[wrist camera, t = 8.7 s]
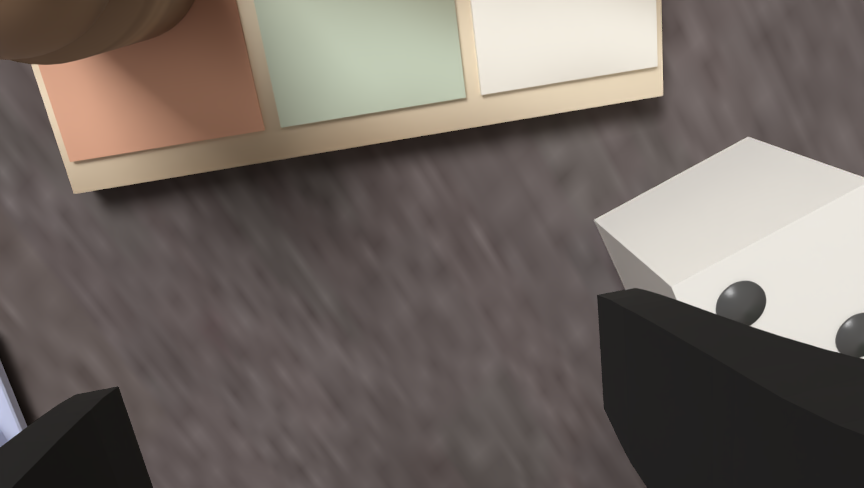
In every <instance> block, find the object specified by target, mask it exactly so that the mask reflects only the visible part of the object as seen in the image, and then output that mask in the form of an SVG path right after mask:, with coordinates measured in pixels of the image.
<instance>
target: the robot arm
mask: <svg viewBox="0 0 864 488" xmlns="http://www.w3.org/2000/svg"><path fill="white" fill-rule="evenodd" d="M597 298H598V315H599V332H600V349H601V366H602V383H603V400H604V409H605V412H606V414H607V416H608V418H609V420H610V422H611V424H612V426H613V428H614V431H615V433H616V435H617V437H618V439H619V441H620V443H621V445H622V447H623V449H624V451H625V453H626V455H627V457H628V458H629V460H630V462H631V464H632V465H633V467H634V468H635V470H636V471H637V473H638V474H639V476H640V477H641V479H642V480H643V482H644V483H645V485H646V486H647V488H864V359H862V358H858V357H853V356H849V355H845V354H842V353H838V352H834V351H830V350H826V349H823V348H819V347H816V346H812V345H809V344H806V343H802V342H799V341H796V340H792V339H789V338H786V337H782V336H779V335H776V334H773V333H770V332H767V331H763V330H760V329H757V328H754V327H751V326H748V325H746V324H743V323H740V322H737V321H734V320H731V319H728V318H725V317H723V316H720V315H717V314H714V313H711V312H709V311H706V310H703V309H700V308H698V307H695V306H692V305H689V304H687V303H684V302H681V301H678V300H675V299H672V298H669V297H667V296H664V295H661V294H657V293H654V292H651V291H647V290H643V289H639V288H632V289H627V290H622V291H616V292H611V293H606V294H601V295H597ZM0 488H153V486H152V483H151V480H150V477H149V475H148V472H147V469H146V466H145V463H144V460H143V457H142V454H141V451H140V448H139V445H138V442H137V440H136V437H135V434H134V431H133V428H132V425H131V422H130V419H129V416H128V413H127V410H126V407H125V405H124V402H123V399H122V396H121V393H120V390H119V387H113V388H108V389H103V390H98V391H92V392H87V393H82V394H77V395H74V396H72V397H71V398H69V399H67V400H65V401H64V402H62V403H60V404H59V405H57V406H56V407H54V408H53V409H51V410H50V411H48V412H47V413H46V414H44V415H43V416H41V417H40V418H39V419H37V420H36V421H35V422H33V423H32V424H30V425H29V426H28V427H27V425H26V422H25V420H24V417H23V415H22V412H21V410H20V407H19V405H18V402H17V400H16V397H15V395H14V392H13V390H12V388H11V385H10V383H9V380H8V378H7V375H6V373H5V370H4V368H3V365H2V363H1V360H0Z"/></svg>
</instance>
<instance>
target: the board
mask: <svg viewBox="0 0 864 488" xmlns="http://www.w3.org/2000/svg"><path fill="white" fill-rule="evenodd" d="M31 65H32V68H33V71H34V74H35V77H36V80H37V83H38V87H39V90H40V93H41V96H42V99H43V102H44V105H45V108H46V111H47V114H48V117H49V120H50V123H51V126H52V129H53V132H54V135H55V138H56V141H57V144H58V147H59V150H60V153H61V156H62V159H63V162H64V165H65V168H66V171H67V174H68V177H69V180H70V183H71V186H72V189H73V192H74V194H77V193H83V192H89V191H95V190H101V189H107V188H113V187H119V186H125V185H131V184H137V183H143V182H149V181H155V180H161V179H167V178H173V177H179V176H185V175H191V174H197V173H203V172H209V171H215V170H221V169H227V168H233V167H239V166H245V165H251V164H257V163H263V162H269V161H275V160H281V159H287V158H293V157H299V156H305V155H311V154H317V153H323V152H329V151H335V150H341V149H347V148H353V147H359V146H365V145H371V144H377V143H383V142H389V141H395V140H401V139H407V138H413V137H419V136H425V135H431V134H437V133H443V132H449V131H455V130H461V129H467V128H473V127H479V126H485V125H491V124H497V123H503V122H509V121H515V120H521V119H527V118H533V117H539V116H545V115H550V114H556V113H562V112H568V111H574V110H580V109H586V108H592V107H598V106H604V105H610V104H616V103H622V102H628V101H634V100H640V99H646V98H652V97H658V96H663V62H662V12H661V0H195V1H194V3H193V5H192V7H191V8H190V10H189V11H188V13H187V14H186V15H185V17H184V18H183V19H182V20H181V21H180V22H179V23H178V24H177V25H176V26H174V27H173V28H172V29H170V30H169V31H167V32H165V33H163V34H162V35H160V36H157V37H154V38H152V39H149V40H145V41H142V42H139V43H135V44H132V45H128V46H125V47H121V48H118V49H115V50H111V51H108V52H104V53H101V54H98V55H94V56H91V57H87V58H84V59H81V60H77V61H73V62H68V63H63V64H52V65H38V64H31Z"/></svg>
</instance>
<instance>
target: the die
mask: <svg viewBox="0 0 864 488" xmlns="http://www.w3.org/2000/svg"><path fill="white" fill-rule="evenodd" d="M594 221H595V224H596V226H597V228H598V230H599V232H600V235H601V237H602V239H603V241H604V244H605V246H606V248H607V250H608V252H609V255H610V257H611V259H612V261H613V263H614V266H615V268H616V270H617V272H618V274H619V277H620V279H621V281H622V283H623V285H624V288H625V290H627V289H632V288H639V289H643V290H647V291H651V292H654V293H657V294H661V295H664V296H667V297H669V298H672V299H675V300H678V301H681V302H684V303H687V304H689V305H692V306H695V307H698V308H700V309H703V310H706V311H709V312H711V313H714V314H717V315H720V316H723V317H725V318H728V319H731V320H734V321H737V322H740V323H743V324H746V325H748V326H751V327H754V328H757V329H760V330H763V331H767V332H770V333H773V334H776V335H779V336H782V337H786V338H789V339H792V340H796V341H799V342H802V343H806V344H809V345H812V346H816V347H819V348H823V349H826V350H830V351H834V352H838V353H842V354H845V355H849V356H853V357H858V358H862V359H864V177H861V176H858V175H855V174H853V173H850V172H847V171H844V170H841V169H838V168H836V167H833V166H830V165H827V164H824V163H821V162H819V161H816V160H813V159H810V158H807V157H804V156H801V155H799V154H796V153H793V152H790V151H787V150H784V149H782V148H779V147H776V146H773V145H770V144H767V143H765V142H762V141H759V140H756V139H753V138H750V137H747V138H745V139H743V140H741V141H739V142H737V143H736V144H734V145H732V146H730V147H728V148H726V149H724V150H723V151H721V152H719V153H717V154H715V155H713V156H711V157H710V158H708V159H706V160H704V161H702V162H700V163H698V164H697V165H695V166H693V167H691V168H689V169H687V170H686V171H684V172H682V173H680V174H678V175H676V176H674V177H673V178H671V179H669V180H667V181H665V182H663V183H661V184H660V185H658V186H656V187H654V188H652V189H650V190H648V191H647V192H645V193H643V194H641V195H639V196H637V197H635V198H634V199H632V200H630V201H628V202H626V203H624V204H622V205H621V206H619V207H617V208H615V209H613V210H611V211H610V212H608V213H606V214H604V215H602V216H600V217H598V218H597V219H595V220H594Z"/></svg>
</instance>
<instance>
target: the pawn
mask: <svg viewBox="0 0 864 488" xmlns="http://www.w3.org/2000/svg"><path fill="white" fill-rule="evenodd" d="M194 1H195V0H0V59H4V60H12V61H16V62H22V63H27V64H38V65H52V64H63V63H68V62H73V61H77V60H81V59H84V58H87V57H91V56H94V55H98V54H101V53H104V52H108V51H111V50H115V49H118V48H121V47H125V46H128V45H132V44H135V43H139V42H142V41H145V40H149V39H152V38H154V37H157V36H160V35H162V34H163V33H165V32H167V31H169V30H170V29H172V28H173V27H174V26H176V25H177V24H178V23H179V22H180V21H181V20H182V19H183V18H184V17H185V15H186V14H187V13H188V11H189V10H190V8H191V7H192V5H193V3H194Z"/></svg>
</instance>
